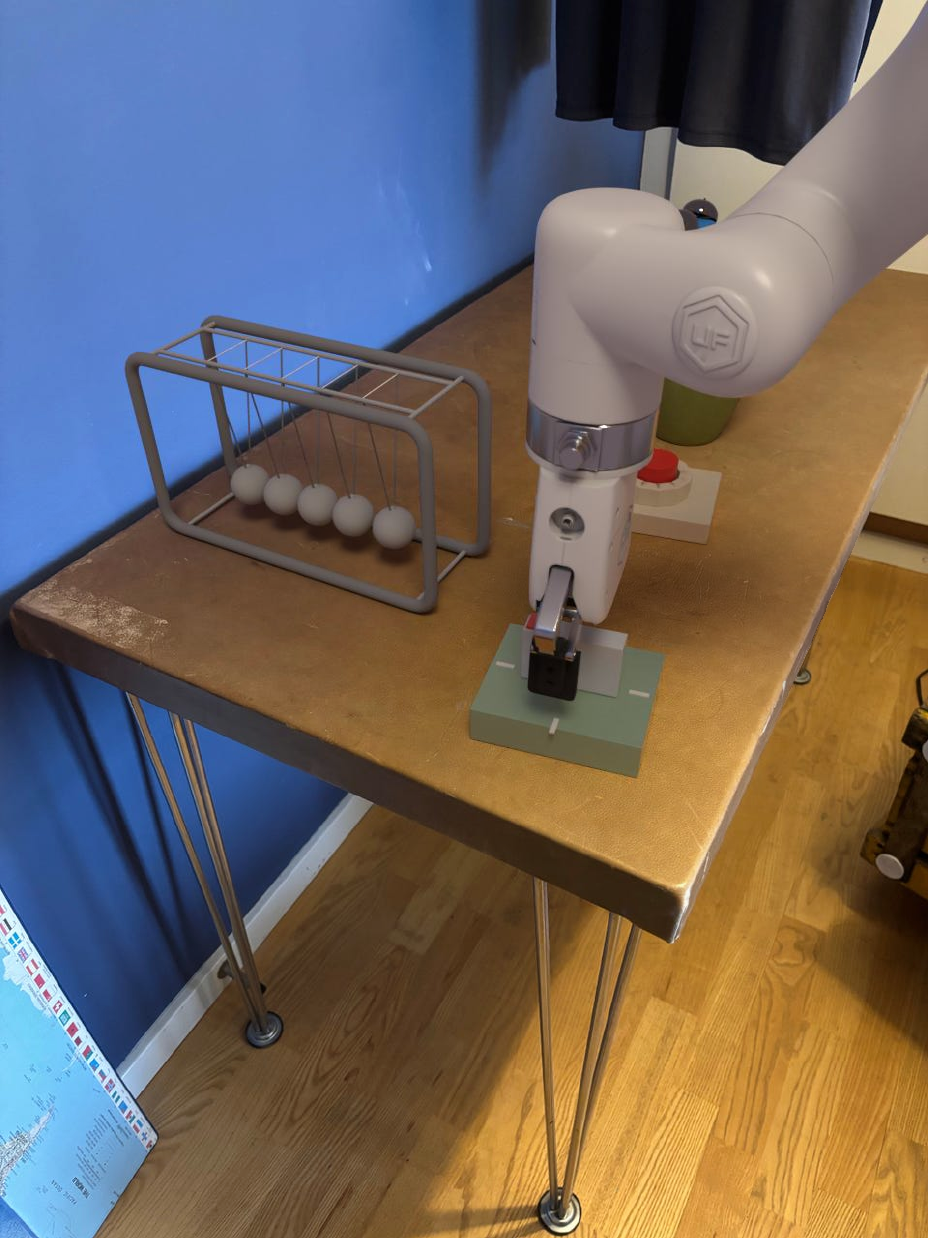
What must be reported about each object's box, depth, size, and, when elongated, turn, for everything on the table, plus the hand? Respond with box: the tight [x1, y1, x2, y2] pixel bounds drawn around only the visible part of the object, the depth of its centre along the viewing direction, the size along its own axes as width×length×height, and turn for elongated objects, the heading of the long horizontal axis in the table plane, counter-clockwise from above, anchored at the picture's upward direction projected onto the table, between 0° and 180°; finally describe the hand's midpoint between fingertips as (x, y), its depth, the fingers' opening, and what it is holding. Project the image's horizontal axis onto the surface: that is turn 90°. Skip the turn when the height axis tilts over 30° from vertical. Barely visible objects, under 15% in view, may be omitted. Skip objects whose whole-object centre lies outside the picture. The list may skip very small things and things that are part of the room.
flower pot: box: [656, 377, 742, 447], centre depth 96 cm, size 15×15×16 cm
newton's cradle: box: [124, 314, 493, 614], centre depth 79 cm, size 30×10×18 cm, turn 61°
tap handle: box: [521, 612, 629, 698], centre depth 64 cm, size 7×2×5 cm, turn 71°
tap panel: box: [469, 622, 666, 779], centre depth 66 cm, size 12×11×3 cm
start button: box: [637, 448, 680, 484], centre depth 86 cm, size 4×4×2 cm
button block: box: [631, 459, 723, 545], centre depth 88 cm, size 12×10×4 cm
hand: (569, 648), depth 64 cm, fingers open, 9 cm apart
